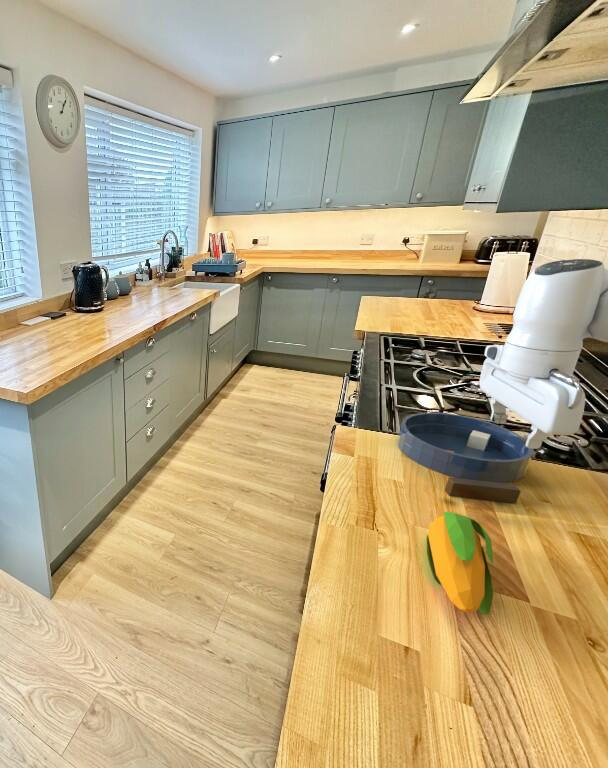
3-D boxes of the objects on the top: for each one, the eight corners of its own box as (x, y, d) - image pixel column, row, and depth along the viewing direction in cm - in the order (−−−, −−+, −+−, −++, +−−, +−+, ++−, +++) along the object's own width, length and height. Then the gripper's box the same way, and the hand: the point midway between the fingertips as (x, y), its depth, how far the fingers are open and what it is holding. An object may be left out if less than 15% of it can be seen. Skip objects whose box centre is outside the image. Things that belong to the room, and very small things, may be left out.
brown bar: (508, 499, 77) (514, 484, 76) (514, 506, 75) (521, 490, 74) (443, 492, 80) (448, 476, 79) (448, 498, 78) (453, 483, 77)
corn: (489, 505, 65) (519, 599, 49) (479, 544, 67) (505, 646, 52) (429, 493, 69) (439, 577, 53) (422, 531, 71) (429, 621, 56)
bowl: (489, 437, 97) (496, 416, 95) (551, 492, 78) (561, 467, 76) (384, 429, 103) (388, 409, 101) (417, 477, 85) (424, 454, 82)
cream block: (486, 446, 93) (490, 434, 92) (483, 451, 91) (488, 439, 90) (469, 441, 95) (473, 430, 94) (466, 446, 93) (470, 434, 92)
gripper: (612, 383, 60) (579, 466, 65) (521, 344, 78) (501, 411, 83) (557, 381, 61) (529, 462, 66) (480, 344, 80) (463, 409, 85)
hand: (513, 433), depth 75 cm, fingers open, 8 cm apart
